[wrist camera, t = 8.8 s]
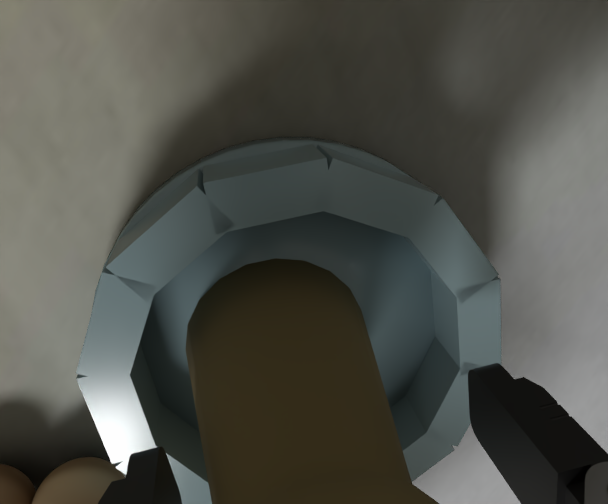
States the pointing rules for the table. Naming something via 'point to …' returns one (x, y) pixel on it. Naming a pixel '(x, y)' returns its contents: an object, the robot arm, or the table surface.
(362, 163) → the dish
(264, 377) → the cork
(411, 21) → the table surface
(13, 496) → the bead pile
